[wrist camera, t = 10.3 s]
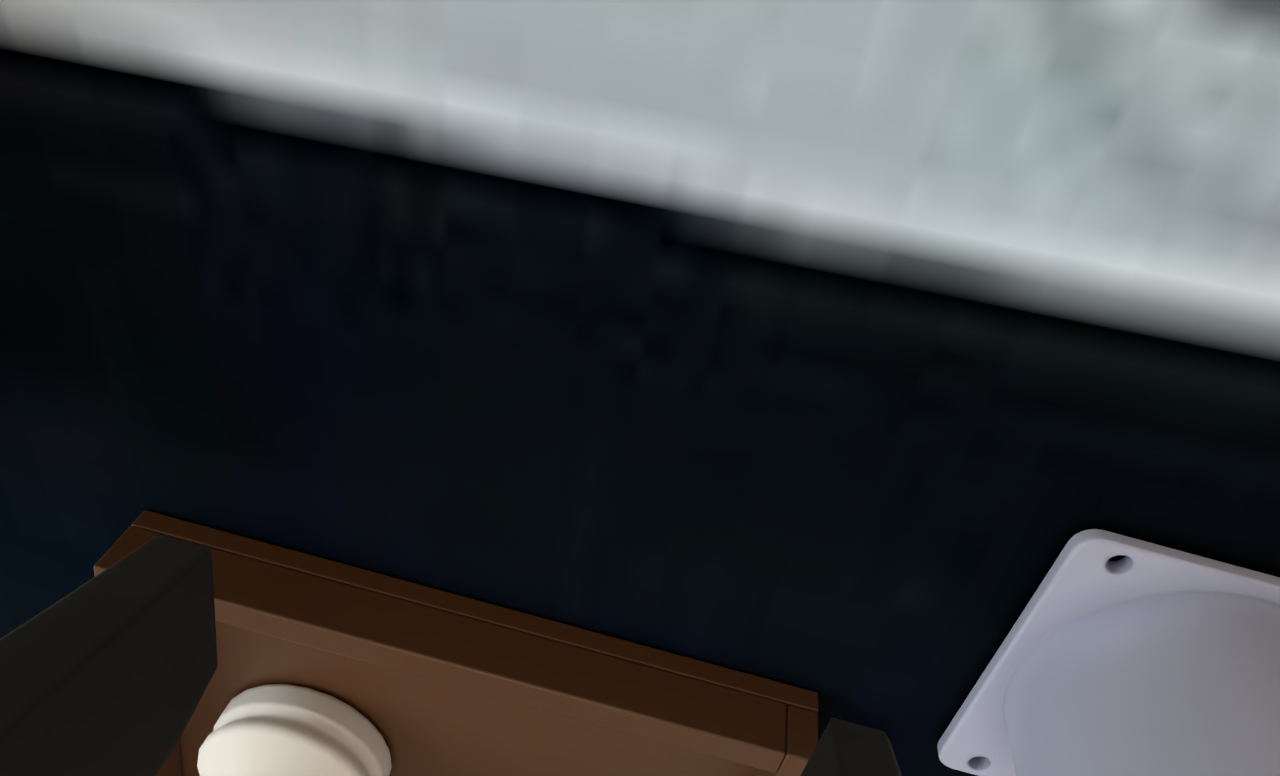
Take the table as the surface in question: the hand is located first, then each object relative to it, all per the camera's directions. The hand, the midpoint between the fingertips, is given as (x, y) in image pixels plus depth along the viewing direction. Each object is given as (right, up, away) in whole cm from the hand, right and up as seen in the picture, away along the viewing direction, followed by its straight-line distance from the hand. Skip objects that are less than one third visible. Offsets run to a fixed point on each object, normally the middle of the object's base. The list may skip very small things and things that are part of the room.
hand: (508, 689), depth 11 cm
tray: (-4, -7, +17) cm, 19 cm away
